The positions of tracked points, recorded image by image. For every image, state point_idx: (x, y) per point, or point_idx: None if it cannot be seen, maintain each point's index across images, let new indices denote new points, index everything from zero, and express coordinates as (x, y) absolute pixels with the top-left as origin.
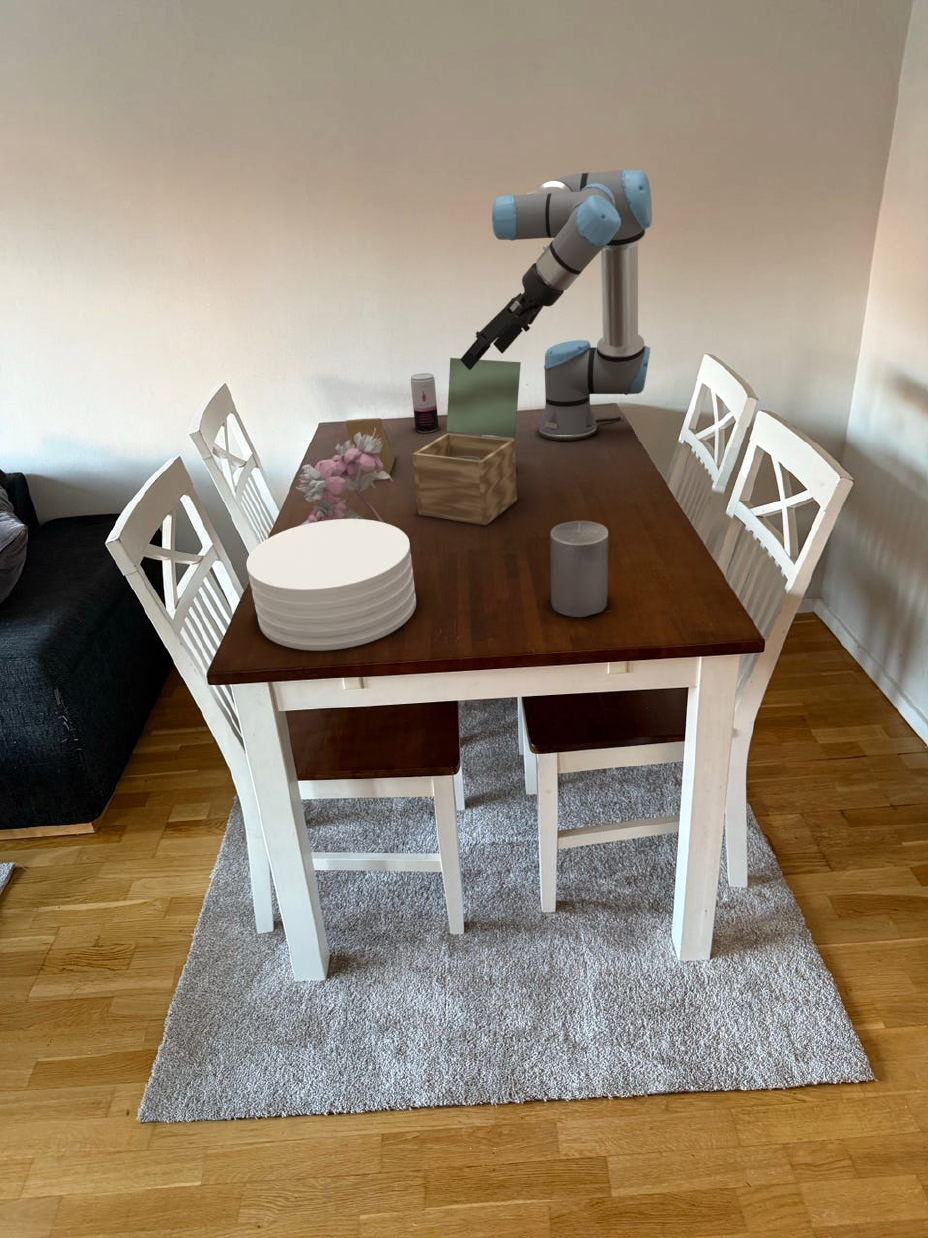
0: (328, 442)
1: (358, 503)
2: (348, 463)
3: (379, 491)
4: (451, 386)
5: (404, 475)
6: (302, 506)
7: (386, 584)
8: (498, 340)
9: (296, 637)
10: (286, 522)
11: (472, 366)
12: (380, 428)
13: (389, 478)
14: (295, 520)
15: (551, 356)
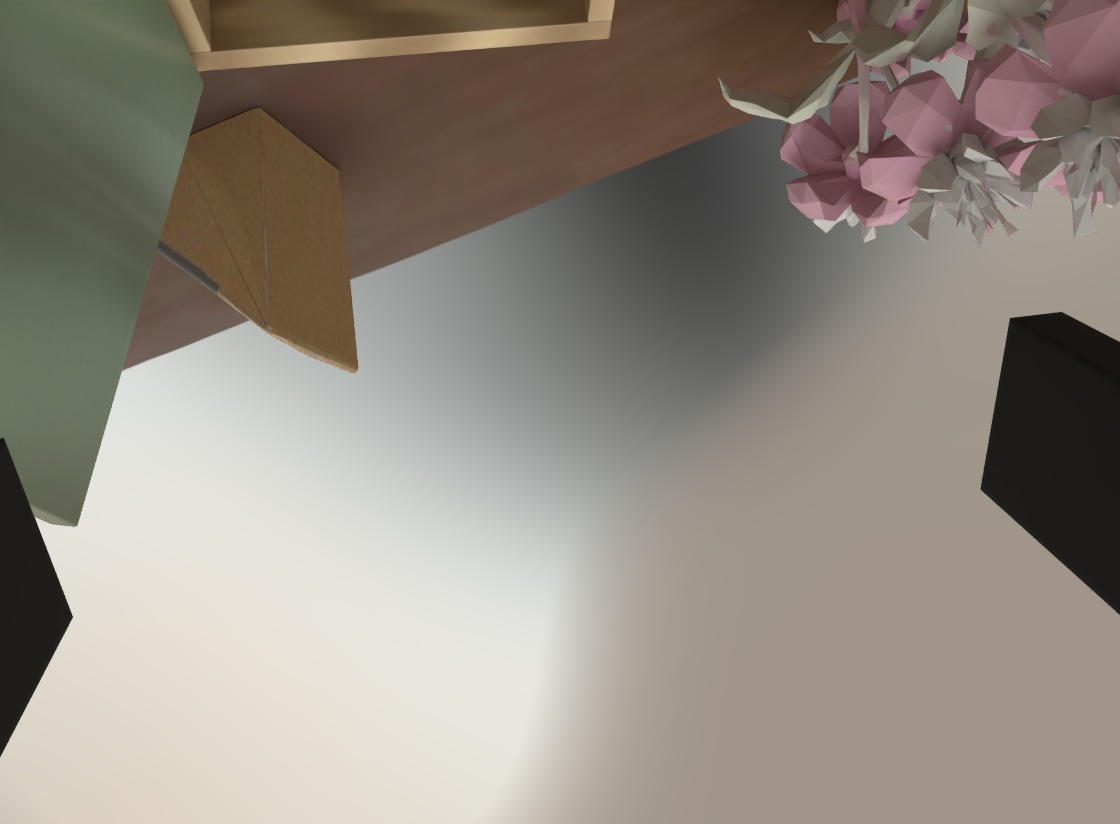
0: (141, 349)
1: (522, 53)
2: (983, 140)
3: (385, 59)
4: (122, 328)
5: None
6: (602, 159)
7: None
8: (23, 662)
9: None
10: (729, 126)
11: (1113, 339)
12: (272, 294)
13: None
14: (710, 117)
15: None
